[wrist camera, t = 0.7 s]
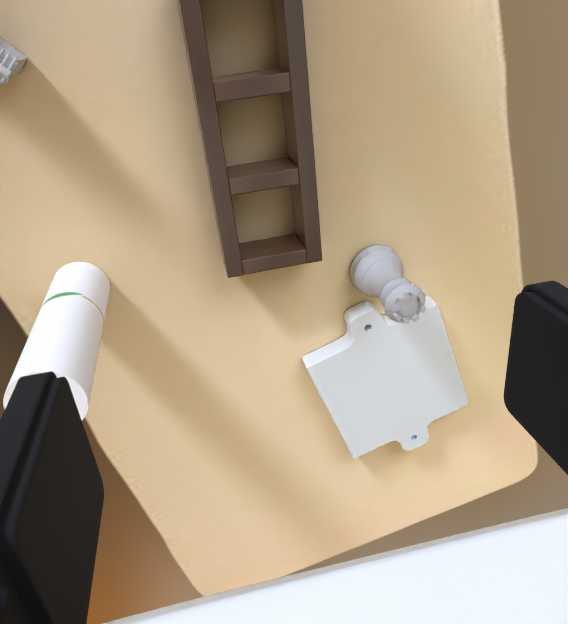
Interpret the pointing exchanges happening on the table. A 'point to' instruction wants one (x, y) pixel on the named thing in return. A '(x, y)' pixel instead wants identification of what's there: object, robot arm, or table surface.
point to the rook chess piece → (387, 283)
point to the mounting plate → (387, 378)
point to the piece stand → (266, 173)
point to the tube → (68, 331)
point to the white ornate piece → (10, 61)
